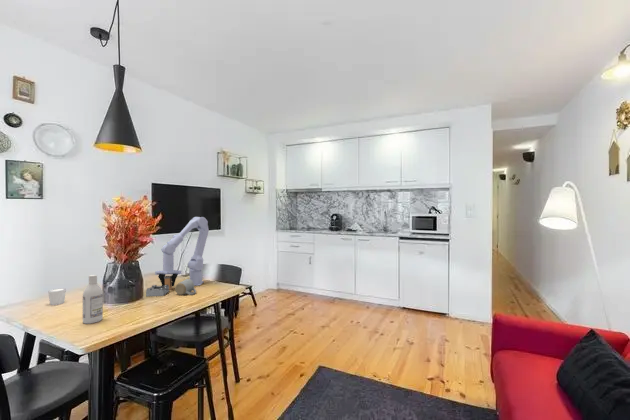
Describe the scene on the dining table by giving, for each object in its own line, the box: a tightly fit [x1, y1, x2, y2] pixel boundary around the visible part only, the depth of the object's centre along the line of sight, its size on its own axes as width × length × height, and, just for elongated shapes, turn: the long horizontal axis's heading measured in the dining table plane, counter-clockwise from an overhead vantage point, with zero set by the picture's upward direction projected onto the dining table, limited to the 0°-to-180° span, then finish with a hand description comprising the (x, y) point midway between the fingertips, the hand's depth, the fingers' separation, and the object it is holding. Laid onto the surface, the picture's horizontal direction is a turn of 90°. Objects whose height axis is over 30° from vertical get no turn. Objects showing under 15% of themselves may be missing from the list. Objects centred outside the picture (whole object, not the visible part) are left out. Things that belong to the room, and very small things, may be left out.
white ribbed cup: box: [48, 287, 67, 306], centre depth 150 cm, size 7×7×7 cm
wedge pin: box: [164, 275, 173, 291], centre depth 177 cm, size 4×4×8 cm
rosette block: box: [145, 284, 170, 297], centre depth 168 cm, size 9×9×4 cm
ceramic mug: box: [174, 278, 197, 296], centre depth 168 cm, size 11×8×8 cm
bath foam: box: [82, 274, 104, 325], centre depth 127 cm, size 7×7×20 cm
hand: (168, 286), depth 177 cm, fingers open, 5 cm apart
